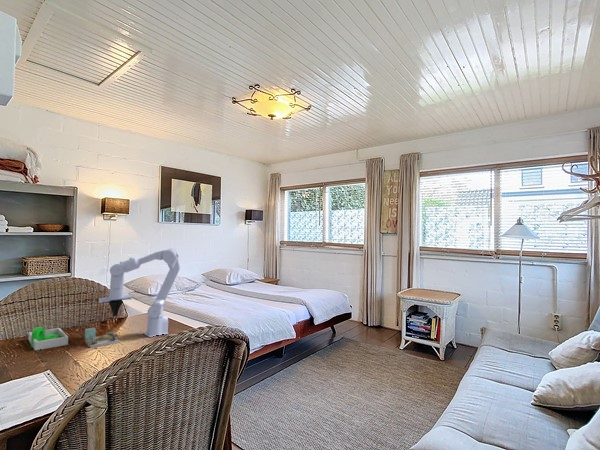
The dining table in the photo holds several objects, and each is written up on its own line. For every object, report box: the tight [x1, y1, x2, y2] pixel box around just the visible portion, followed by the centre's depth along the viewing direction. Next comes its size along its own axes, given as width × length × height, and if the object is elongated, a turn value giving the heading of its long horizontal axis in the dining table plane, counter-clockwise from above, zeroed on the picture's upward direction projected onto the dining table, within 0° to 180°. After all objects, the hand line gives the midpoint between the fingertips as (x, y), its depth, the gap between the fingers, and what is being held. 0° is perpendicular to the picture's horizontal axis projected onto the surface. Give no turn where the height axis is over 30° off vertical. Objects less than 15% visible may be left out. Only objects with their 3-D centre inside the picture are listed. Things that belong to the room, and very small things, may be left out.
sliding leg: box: [84, 327, 97, 343], centre depth 148 cm, size 4×7×5 cm, turn 47°
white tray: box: [27, 327, 69, 351], centre depth 147 cm, size 12×18×4 cm, turn 47°
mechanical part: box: [30, 326, 60, 348], centre depth 147 cm, size 12×6×8 cm, turn 7°
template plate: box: [86, 338, 120, 349], centre depth 148 cm, size 12×5×1 cm, turn 137°
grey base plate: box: [84, 331, 119, 345], centre depth 151 cm, size 13×7×3 cm, turn 137°
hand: (114, 315), depth 161 cm, fingers closed
